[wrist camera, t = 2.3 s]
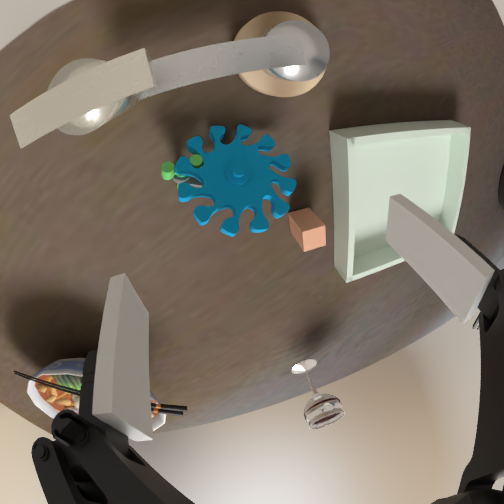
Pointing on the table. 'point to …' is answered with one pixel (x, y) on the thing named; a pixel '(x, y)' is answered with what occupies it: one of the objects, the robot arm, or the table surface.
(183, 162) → the gear
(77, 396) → the ramen bowl
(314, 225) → the post
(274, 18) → the crank pedestal
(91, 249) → the table surface
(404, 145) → the tray
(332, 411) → the wineglass
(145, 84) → the crank
